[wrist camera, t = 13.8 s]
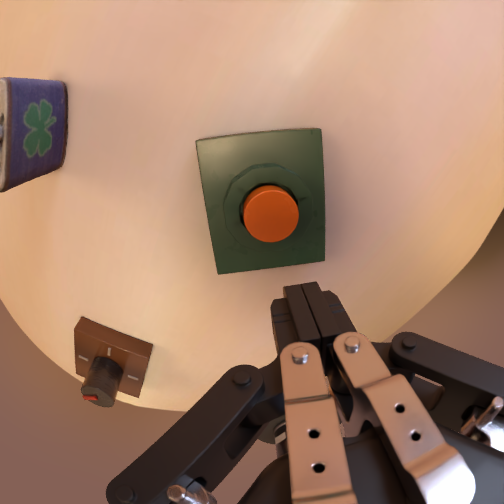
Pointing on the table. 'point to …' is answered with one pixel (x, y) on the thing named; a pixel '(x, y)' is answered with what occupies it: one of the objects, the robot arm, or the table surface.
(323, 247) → the button box
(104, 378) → the knob
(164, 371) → the table surface
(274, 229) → the button
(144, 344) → the panel
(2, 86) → the flask
